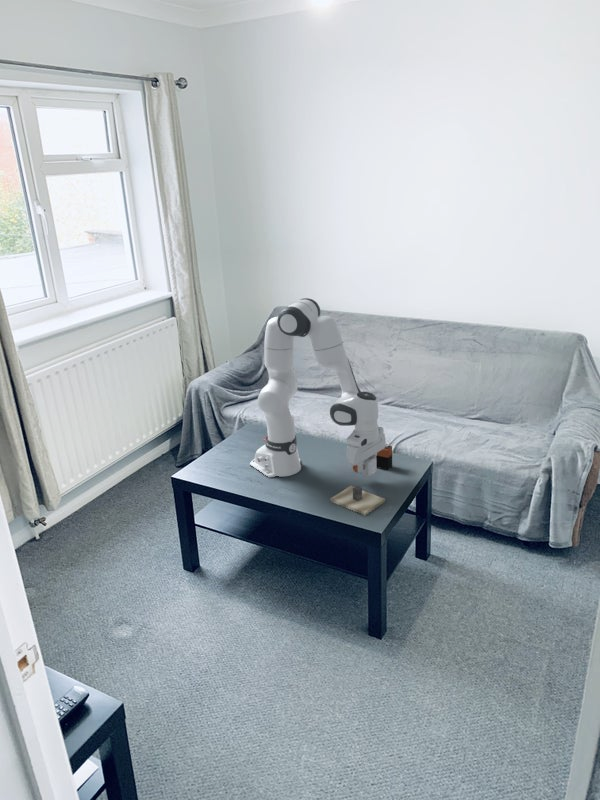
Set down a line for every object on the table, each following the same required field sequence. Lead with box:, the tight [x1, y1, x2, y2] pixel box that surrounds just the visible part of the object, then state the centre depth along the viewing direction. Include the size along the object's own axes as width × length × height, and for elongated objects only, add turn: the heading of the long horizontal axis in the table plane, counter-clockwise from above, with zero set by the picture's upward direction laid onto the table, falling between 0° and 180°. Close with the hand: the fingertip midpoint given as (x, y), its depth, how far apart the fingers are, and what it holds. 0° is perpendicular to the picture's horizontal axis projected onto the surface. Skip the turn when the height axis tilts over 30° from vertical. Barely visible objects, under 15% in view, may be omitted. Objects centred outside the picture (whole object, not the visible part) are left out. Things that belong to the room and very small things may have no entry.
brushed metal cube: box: [357, 456, 377, 477], centre depth 237 cm, size 5×5×6 cm
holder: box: [329, 485, 386, 516], centre depth 225 cm, size 16×12×6 cm
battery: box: [376, 443, 393, 471], centre depth 249 cm, size 4×7×10 cm, turn 57°
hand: (366, 466), depth 237 cm, fingers closed on brushed metal cube, 5 cm apart
